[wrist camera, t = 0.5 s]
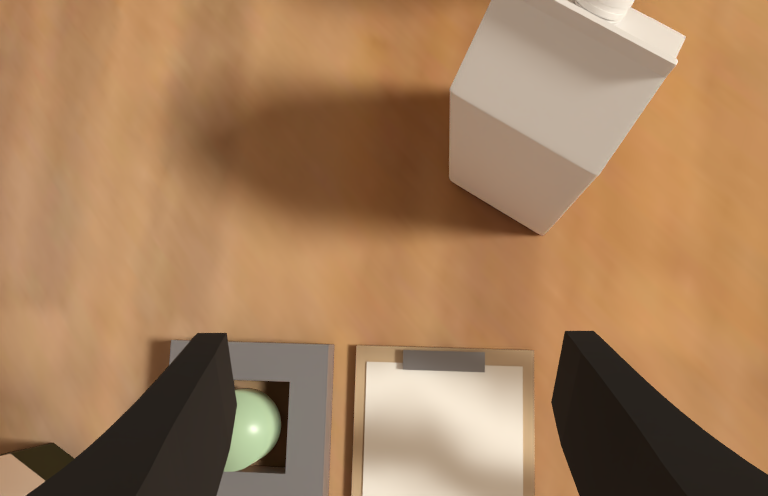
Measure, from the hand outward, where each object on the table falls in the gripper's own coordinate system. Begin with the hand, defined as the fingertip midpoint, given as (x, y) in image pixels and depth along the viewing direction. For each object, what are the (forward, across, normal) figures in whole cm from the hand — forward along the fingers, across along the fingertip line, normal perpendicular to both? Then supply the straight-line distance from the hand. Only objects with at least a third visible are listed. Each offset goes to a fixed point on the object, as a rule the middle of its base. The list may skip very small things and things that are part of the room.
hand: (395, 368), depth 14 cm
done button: (+18, +8, +20) cm, 28 cm away
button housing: (+19, +8, +21) cm, 29 cm away
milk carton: (+28, -10, +7) cm, 30 cm away
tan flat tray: (+16, -4, +22) cm, 28 cm away
